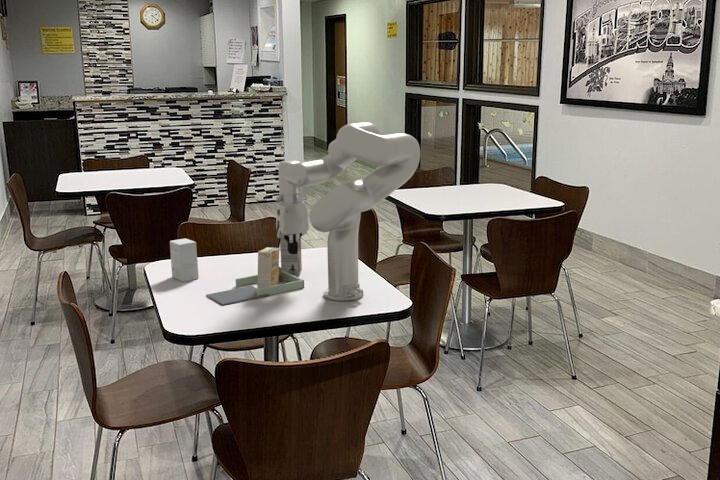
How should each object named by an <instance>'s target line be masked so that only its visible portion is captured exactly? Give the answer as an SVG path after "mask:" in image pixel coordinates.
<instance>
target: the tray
mask: <svg viewBox="0 0 720 480" xmlns="http://www.w3.org/2000/svg"><path fill="white" fill-rule="evenodd" d="M282 280H283V281H286V283H280V284H278V285H275V286H270V287H265V288H260V289H256V293H257V296H259V295H264V294H269V296H270V295H275V294H279V293H280V294H281V293H284V292H285V293H286V292H289V291H293V290H299V289H303V288H305V280H304V279H302V278H300V277H295V276H293V275H291V274H288V273H286V272H284V271H282ZM257 281H258V274H255V275H250V276H249V275H248V276H245V277H237V278H235V287H241V286H242V287H243V286H247V285H252V284H256V283H257Z"/></svg>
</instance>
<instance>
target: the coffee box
mask: <svg viewBox="0 0 720 480" xmlns="http://www.w3.org/2000/svg"><path fill="white" fill-rule="evenodd" d="M283 235H284V234H283ZM279 243H280V244H279V245H280V246H279V252H280V267H281V271H284V272H286V273H288V274H291V275H293V276H295V277H298V278H300V275H301V273H302V269H303V265H302V264H303V262H302V237H301V238H300V239H299V242H298V251H297V254H294V255H292V254H290V253H288V245H287V241H286V240H285V239H282V238H279Z"/></svg>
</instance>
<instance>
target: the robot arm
mask: <svg viewBox="0 0 720 480" xmlns="http://www.w3.org/2000/svg"><path fill="white" fill-rule="evenodd" d="M327 153H328V154H326V155H325V156H323V157H322V158H320V159H315V160H310V161H304V162H303V161H302V162H301V161H299V160H293V159H292V160H291V159H289V160H288V159H287V160H281V161H280V162H279V163H278V189H279V191H278V193H279V194H278V196H277V197H275V200H276V202H279V203H277V208H276V216H275V218H276V220H275V221H276V223H275V227H276V232H277V234H276V237H277V238H279V239H280V238H282V239H285V240H286V241H287V245H288V253H290V254H292V255H294V254H297V251H298V242H299V239H300V238H301V239H302V237H303V236H305V235H307V234H308V231H309V227H310V225H311V226H312V227H313V229H314V230H316V231H318V232H321V233H328V235H327V283H328V288H326V289H325V290H324V291H323V297H324V298H325V299H327V300H331V301H337V302H344V301H345V302H347V301H354V300H358V299H360V298H362V297H363V296H364V290H363V289H362V288H361V287H360V283H359V229H360V222H361V216H362V215H361V214H362V213H364V212H366V211H370V210H371V209H373V208H374V207H375V206H377V205H378V204H380V203H381V202H382V201H383V200H385V199H386V198H388V197H389V196H390V195H391V194H392V193H394V192H395V191H397V190H398V189H399V188H400V187H402V186H403V185H405V184H406V183H407V182H408V181H409V180H410V179H411V178H412V177H413V176H414V174H415V172H416V171H417V169H418V167H419V163H420V159H421V148H420V143H419V142H418V140H417V139H416V138H415V137H414V136H412V135H411V134H407V133H401V132H399V133H391V134H390V133H389V134H384V135H382V133H381V131H380V128H379V127H378V126H376V125H375V124H374V123H371V122H368V121H367V122H366V121H364V122H363V121H361V122H357V123H356V122H355V123H347V124H345V125H343V126H342V127H341V128H339V130H338V132H337V133H336V138H335V139H334V140H333V141H331V142H330V143H329V144H328V148H327ZM356 160H360V161H362V162H365V163H368V164H371V165H372V166H377V167H376V168H375V169H373V170H372V171H371V172H370V173H368V174H367V175H366V176H364V177H362V178H360V179H355V180H351V181H347V182H343V183H340V184H338V185H337V186H335V187H334V188H332V189H331V190H330V191H328V192H327V193H326V194H325V195H323V196H322V197H321V198H319V199H318V200H317V201H316V202H315V203H313V205H312V206H311V209H310V210H309V213H308V208H307V205H306V202H305V201H304V199H303V198H304V197H303V196H304V195H303V194H304V193H303V187H309V186H313V185H318V184H324V183H326V182H329V181H331V180H332V179H334V178H335V177H337V176H338V175H340V174H342V173H343V172H344V171H345V170H346V168H348V166H349V165H350V164H352V163H354V162H355V161H356ZM309 224H310V225H309ZM283 234H284V235H283Z"/></svg>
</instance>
